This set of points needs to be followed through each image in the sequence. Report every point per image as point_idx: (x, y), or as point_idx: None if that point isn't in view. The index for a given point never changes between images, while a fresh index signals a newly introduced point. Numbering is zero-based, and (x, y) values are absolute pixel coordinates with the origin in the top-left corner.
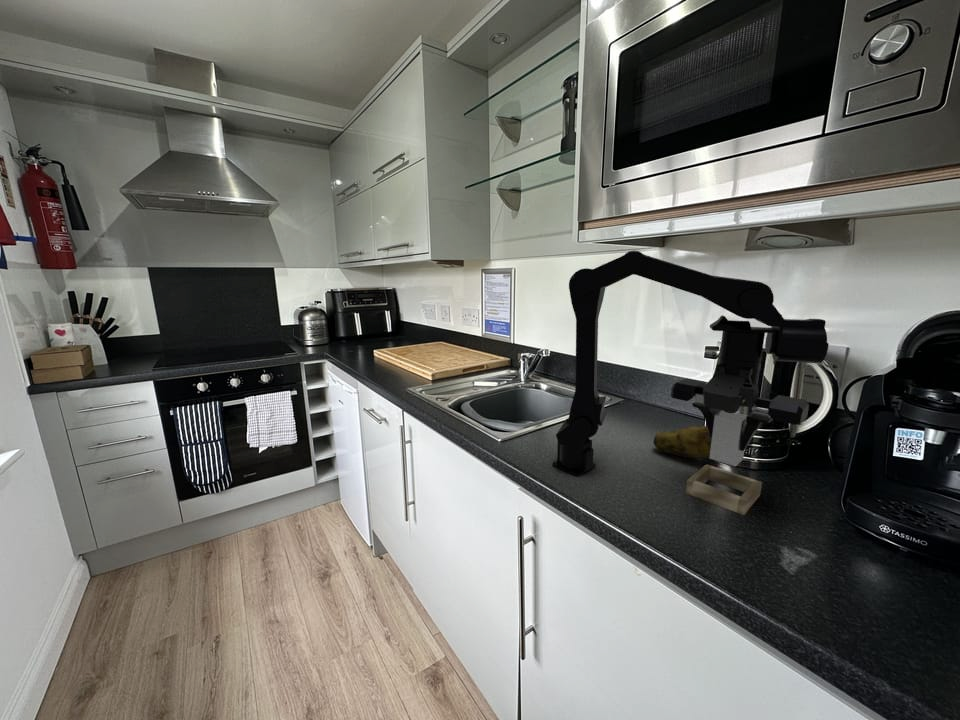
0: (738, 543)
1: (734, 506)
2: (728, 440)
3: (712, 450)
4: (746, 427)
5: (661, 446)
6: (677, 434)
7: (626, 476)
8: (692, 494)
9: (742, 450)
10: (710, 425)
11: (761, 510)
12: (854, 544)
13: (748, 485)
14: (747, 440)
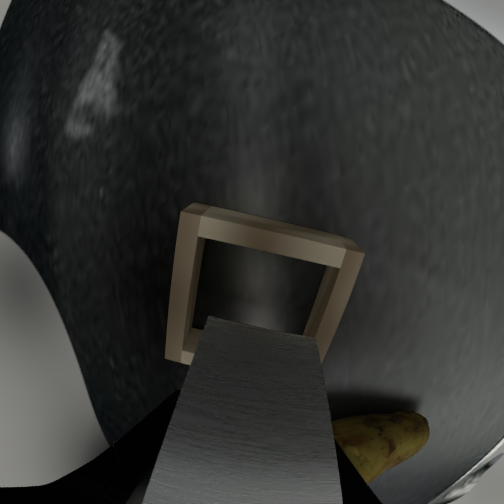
0: (197, 53)
1: (216, 211)
2: (237, 414)
3: (312, 365)
4: (121, 493)
5: (413, 415)
6: (393, 453)
7: (486, 243)
8: (334, 234)
9: (179, 391)
10: (349, 487)
11: (161, 258)
12: (28, 223)
13: (196, 343)
14: (140, 427)
